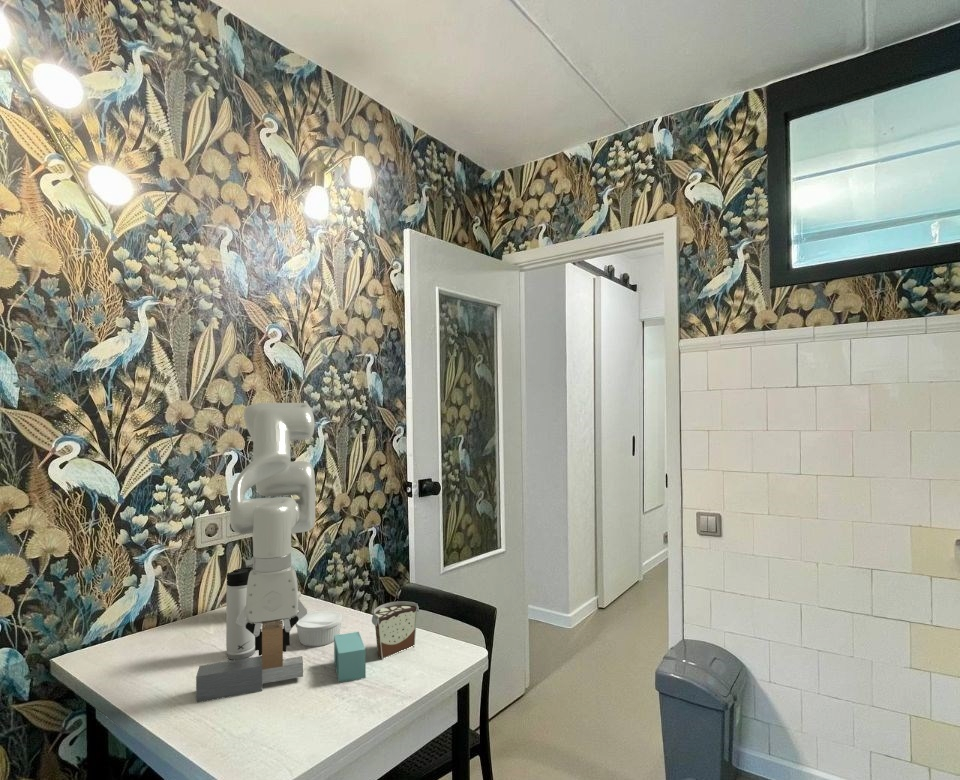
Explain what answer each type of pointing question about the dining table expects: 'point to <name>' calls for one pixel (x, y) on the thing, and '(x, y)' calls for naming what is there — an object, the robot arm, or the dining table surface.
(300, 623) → the ramekin
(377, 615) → the food container
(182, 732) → the dining table surface
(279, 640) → the multicoloured piece
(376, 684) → the dining table surface
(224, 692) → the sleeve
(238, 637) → the travel mug
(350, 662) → the socket block
